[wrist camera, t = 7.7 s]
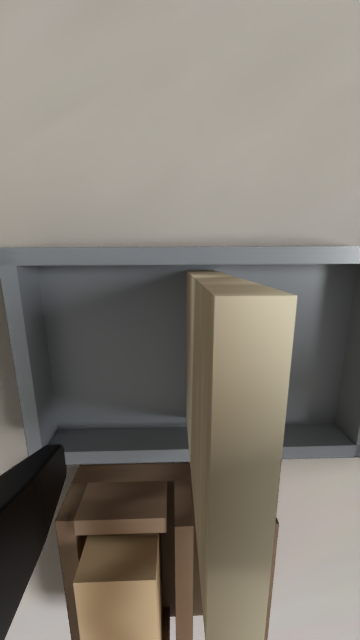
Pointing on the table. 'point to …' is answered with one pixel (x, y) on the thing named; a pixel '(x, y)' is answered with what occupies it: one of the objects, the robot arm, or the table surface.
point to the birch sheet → (236, 440)
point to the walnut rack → (140, 531)
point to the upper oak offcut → (118, 588)
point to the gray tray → (169, 346)
